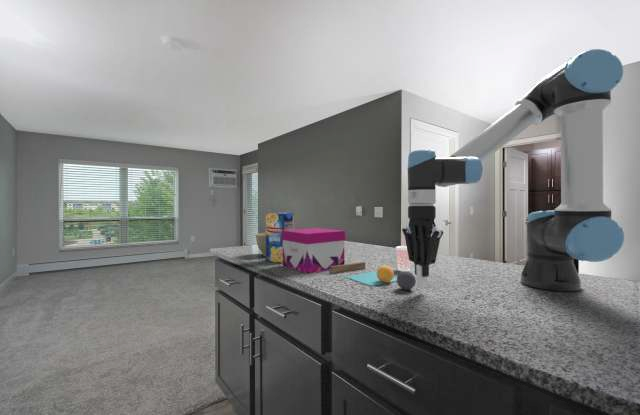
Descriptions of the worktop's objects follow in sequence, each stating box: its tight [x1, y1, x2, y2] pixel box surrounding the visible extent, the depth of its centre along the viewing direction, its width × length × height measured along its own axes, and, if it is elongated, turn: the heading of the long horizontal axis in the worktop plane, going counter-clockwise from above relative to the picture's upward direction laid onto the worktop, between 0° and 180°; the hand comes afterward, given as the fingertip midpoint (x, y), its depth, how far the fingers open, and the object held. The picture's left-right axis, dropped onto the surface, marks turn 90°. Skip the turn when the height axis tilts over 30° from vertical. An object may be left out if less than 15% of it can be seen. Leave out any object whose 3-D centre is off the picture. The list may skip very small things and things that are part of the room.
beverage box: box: [265, 212, 295, 264], centre depth 139 cm, size 7×11×22 cm, turn 57°
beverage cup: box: [395, 233, 411, 272], centre depth 119 cm, size 6×6×14 cm
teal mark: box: [345, 271, 397, 287], centre depth 106 cm, size 14×14×1 cm
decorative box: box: [282, 227, 346, 274], centre depth 127 cm, size 19×19×15 cm
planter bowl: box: [255, 232, 266, 257], centre depth 156 cm, size 16×16×11 cm
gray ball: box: [396, 271, 417, 291], centre depth 92 cm, size 6×6×6 cm
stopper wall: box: [329, 261, 366, 275], centre depth 118 cm, size 1×16×2 cm, turn 121°
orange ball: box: [376, 265, 395, 284], centre depth 101 cm, size 6×6×6 cm
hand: (421, 287), depth 88 cm, fingers closed
